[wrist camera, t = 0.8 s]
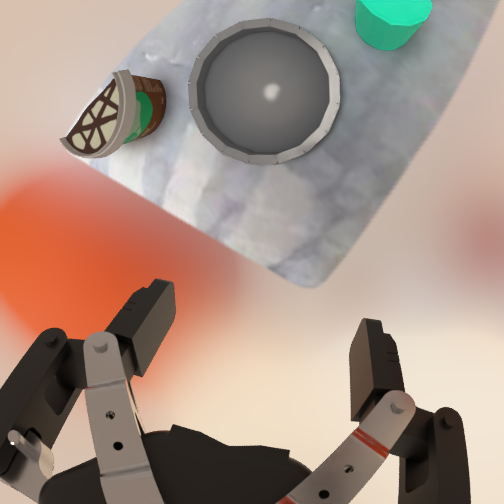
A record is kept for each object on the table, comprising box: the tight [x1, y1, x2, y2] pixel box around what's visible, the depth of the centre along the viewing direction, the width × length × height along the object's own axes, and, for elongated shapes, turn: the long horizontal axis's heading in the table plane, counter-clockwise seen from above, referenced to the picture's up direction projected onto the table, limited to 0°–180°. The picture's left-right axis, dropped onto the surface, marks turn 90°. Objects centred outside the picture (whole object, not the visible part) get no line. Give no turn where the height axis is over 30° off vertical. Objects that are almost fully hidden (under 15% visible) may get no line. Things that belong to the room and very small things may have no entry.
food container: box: [60, 70, 166, 158], centre depth 31 cm, size 12×6×10 cm, turn 123°
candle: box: [355, 0, 432, 51], centre depth 18 cm, size 6×6×12 cm
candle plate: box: [188, 18, 340, 164], centre depth 29 cm, size 16×16×3 cm
